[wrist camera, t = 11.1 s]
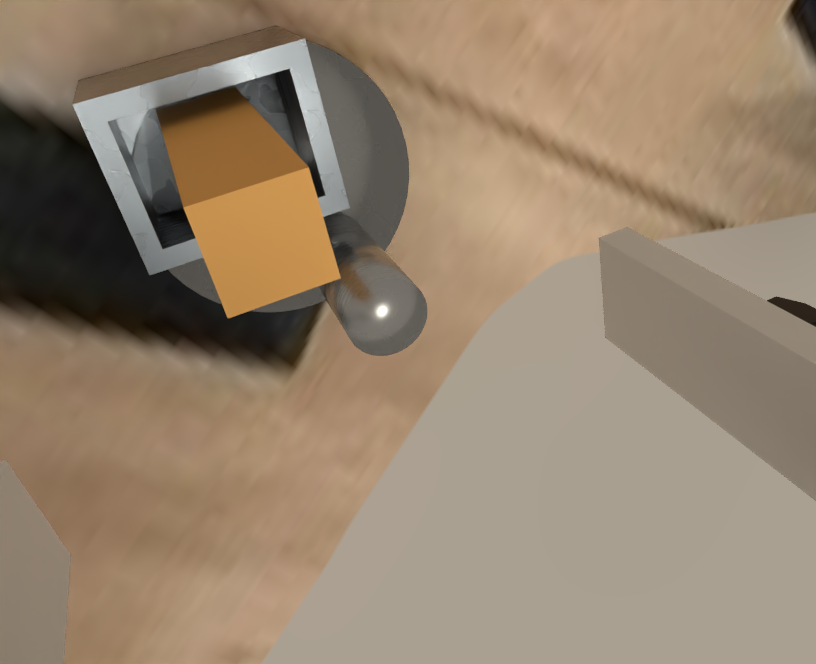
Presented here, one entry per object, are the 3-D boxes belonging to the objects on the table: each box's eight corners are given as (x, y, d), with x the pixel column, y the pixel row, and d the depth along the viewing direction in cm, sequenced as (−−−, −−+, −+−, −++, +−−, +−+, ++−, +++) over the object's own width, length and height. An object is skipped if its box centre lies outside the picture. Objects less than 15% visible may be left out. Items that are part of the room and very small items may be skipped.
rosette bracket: (191, 336, 42) (213, 442, 33) (78, 80, 34) (66, 126, 25) (422, 253, 45) (500, 330, 36) (367, 0, 37) (449, 16, 28)
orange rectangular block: (185, 186, 37) (227, 318, 24) (155, 109, 35) (183, 207, 21) (259, 163, 38) (340, 278, 24) (235, 86, 35) (308, 167, 22)
